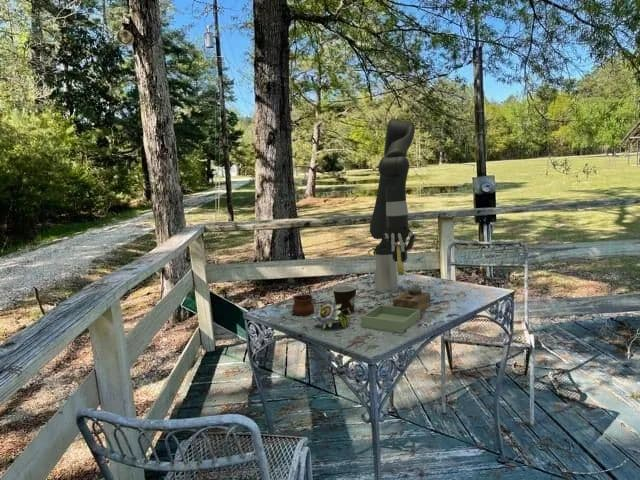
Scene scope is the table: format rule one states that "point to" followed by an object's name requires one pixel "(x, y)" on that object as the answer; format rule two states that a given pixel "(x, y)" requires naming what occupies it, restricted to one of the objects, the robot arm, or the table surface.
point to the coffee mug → (345, 298)
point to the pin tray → (390, 318)
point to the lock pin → (399, 261)
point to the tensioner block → (413, 299)
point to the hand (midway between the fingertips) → (400, 261)
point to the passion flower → (330, 314)
